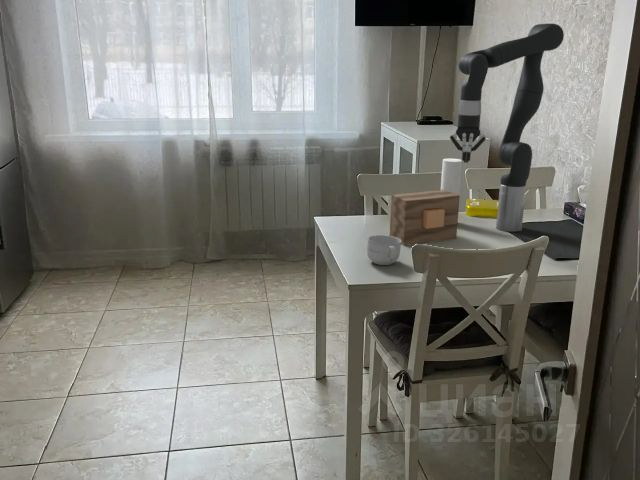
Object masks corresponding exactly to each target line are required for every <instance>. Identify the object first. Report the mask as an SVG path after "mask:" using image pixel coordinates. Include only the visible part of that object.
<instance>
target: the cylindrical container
mask: <svg viewBox="0 0 640 480" xmlns="http://www.w3.org/2000/svg"><path fill="white" fill-rule="evenodd" d="M462 163H463V161H462V159H460V158H451V157H450V158H448V157H447V158H443V159H442V165H441V166H442V167H441V179H440V190H446V191H448V192H451V193H454V194H456V195H459V196H460V188H461V175H462Z"/></svg>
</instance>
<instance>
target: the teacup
mask: <svg viewBox="0 0 640 480" xmlns="http://www.w3.org/2000/svg"><path fill="white" fill-rule="evenodd" d="M401 245H402V244H401V240H400V239H399V238H396V237H393V236H390V235H385V234H374V235H369V236H368V237H367V245H366V246H367V247H366V255H367V258H368V259H369V260H371V262H372V263H374V264H375V265H379V266H391V265H393V264H394V263H395V262H397V261H398V260H399V258H400V253H401Z"/></svg>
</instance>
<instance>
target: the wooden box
mask: <svg viewBox="0 0 640 480" xmlns="http://www.w3.org/2000/svg"><path fill="white" fill-rule="evenodd" d="M460 197H461V196H460V194H459V195H456V194H454V193H451V192H448V191H446V190H441V189H440V190H428V191H427V190H426V191H418V192H406V193H396V194H391V198H390V199H391V200H390V220H389V236H393V237H396V238H399V239H400V240H401V245H402V246H403V245H404V246H409V245H408V244H411V245H417V244H416V243H419V244H424V243H423V242H427V243H433V241H434V242H441V241H449V240H455V239H456V240H457V234H458V222H459V209H460ZM434 208H441V209H443V210H445V213H444V227H436V228H428V229H426V228H424V227H422V223H423V210H424V209H434ZM411 245H410V246H411Z"/></svg>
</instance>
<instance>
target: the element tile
mask: <svg viewBox="0 0 640 480" xmlns="http://www.w3.org/2000/svg"><path fill="white" fill-rule="evenodd" d="M498 202H499V199H498V200H497V199H486V198H485V199H484V198H483V199H482V198H481V199H480V198H467V199H466V201H465V216H467V217H478V218H491V219H497V212H498Z"/></svg>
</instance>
